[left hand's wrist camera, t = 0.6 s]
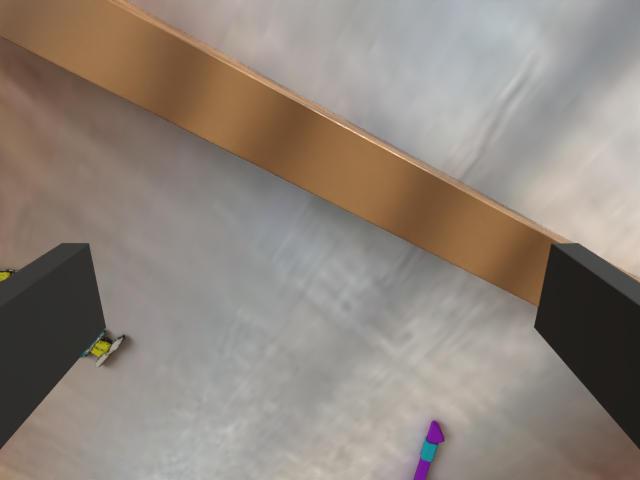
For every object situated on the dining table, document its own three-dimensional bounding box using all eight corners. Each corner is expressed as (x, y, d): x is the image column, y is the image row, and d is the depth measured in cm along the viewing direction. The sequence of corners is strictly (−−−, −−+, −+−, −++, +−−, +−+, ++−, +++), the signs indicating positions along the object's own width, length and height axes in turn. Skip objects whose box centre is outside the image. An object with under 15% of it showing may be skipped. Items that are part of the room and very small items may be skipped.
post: (-70, -28, 33) (-198, -63, 25) (-58, -98, 31) (-190, -161, 23) (715, 375, 45) (800, 438, 37) (751, 339, 44) (848, 397, 36)
